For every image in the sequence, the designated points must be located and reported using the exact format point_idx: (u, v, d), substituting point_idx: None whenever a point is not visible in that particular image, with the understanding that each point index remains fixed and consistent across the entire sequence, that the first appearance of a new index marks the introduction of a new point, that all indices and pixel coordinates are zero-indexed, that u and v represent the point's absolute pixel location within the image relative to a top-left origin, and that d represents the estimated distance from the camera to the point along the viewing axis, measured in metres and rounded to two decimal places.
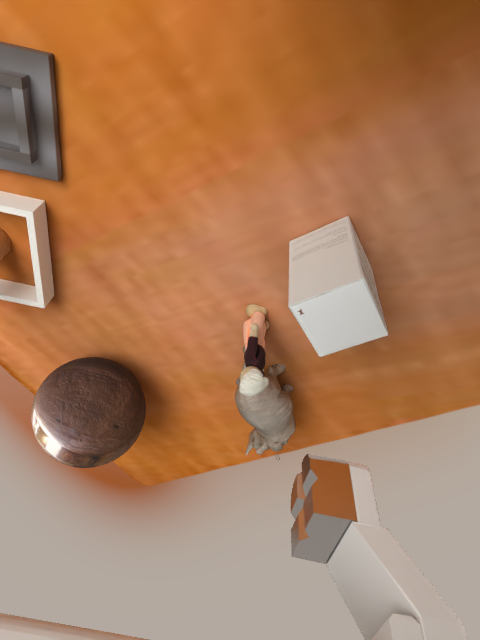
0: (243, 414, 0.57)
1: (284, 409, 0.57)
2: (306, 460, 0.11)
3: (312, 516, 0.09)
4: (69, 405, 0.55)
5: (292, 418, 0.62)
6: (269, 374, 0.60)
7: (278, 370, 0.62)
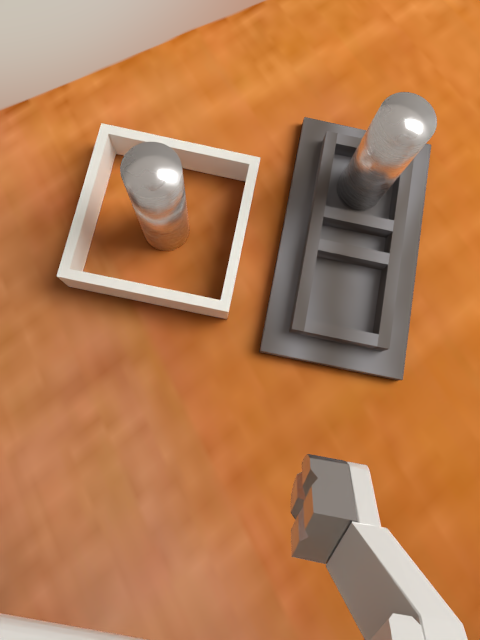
0: None
1: None
2: (306, 460, 0.11)
3: (312, 516, 0.09)
4: None
5: None
6: None
7: None
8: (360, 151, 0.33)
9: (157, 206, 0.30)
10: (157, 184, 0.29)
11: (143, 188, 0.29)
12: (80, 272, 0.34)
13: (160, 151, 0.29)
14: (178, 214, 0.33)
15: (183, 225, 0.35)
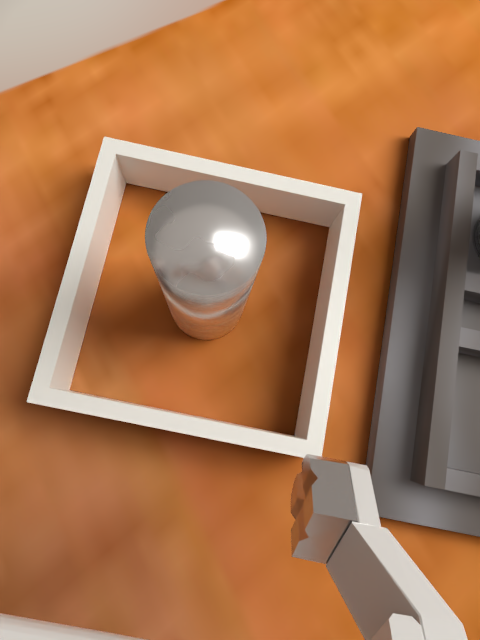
0: None
1: None
2: (306, 460, 0.11)
3: (312, 516, 0.09)
4: None
5: None
6: None
7: None
8: None
9: (214, 303, 0.16)
10: (219, 267, 0.14)
11: (191, 275, 0.14)
12: (68, 394, 0.20)
13: (223, 200, 0.15)
14: (242, 303, 0.18)
15: (242, 310, 0.21)
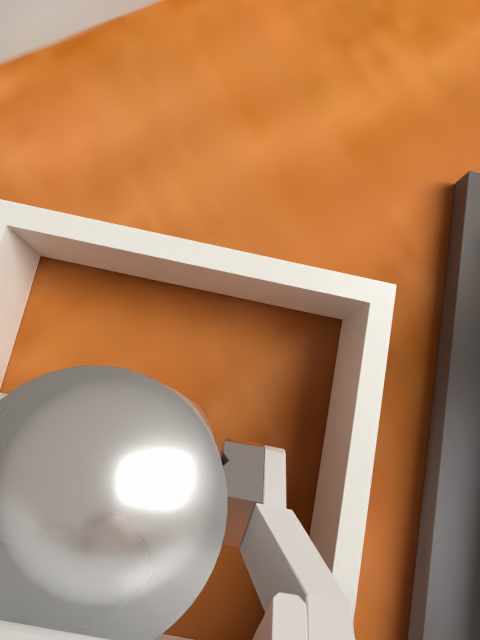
0: None
1: None
2: (223, 444, 0.10)
3: None
4: None
5: None
6: None
7: None
8: None
9: None
10: (113, 588, 0.06)
11: (45, 615, 0.06)
12: None
13: (130, 413, 0.07)
14: None
15: None
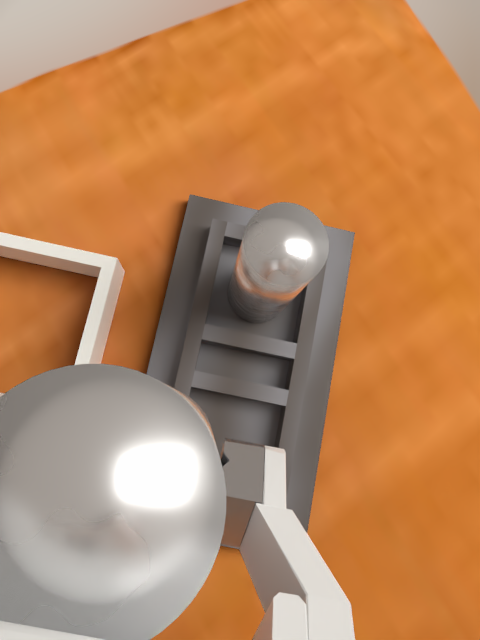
0: None
1: None
2: (223, 444, 0.10)
3: None
4: None
5: None
6: None
7: None
8: (236, 270, 0.24)
9: None
10: (112, 586, 0.06)
11: (44, 613, 0.06)
12: None
13: (129, 411, 0.07)
14: None
15: None
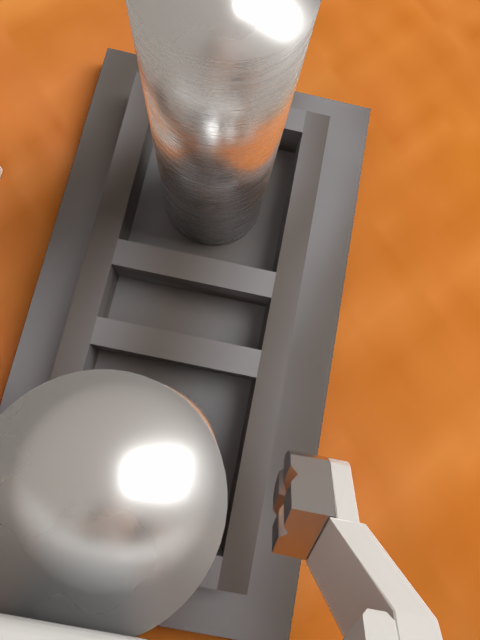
0: None
1: None
2: (287, 456, 0.10)
3: (290, 512, 0.09)
4: None
5: None
6: None
7: None
8: None
9: None
10: (121, 576, 0.07)
11: (58, 601, 0.06)
12: None
13: (136, 414, 0.07)
14: None
15: None
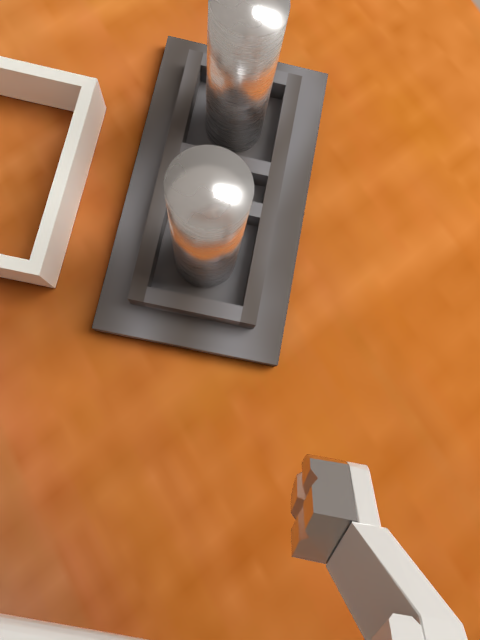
0: None
1: None
2: (306, 460, 0.11)
3: (312, 516, 0.09)
4: None
5: None
6: None
7: None
8: (207, 60, 0.25)
9: (215, 239, 0.20)
10: (219, 209, 0.19)
11: (198, 215, 0.19)
12: None
13: (221, 159, 0.20)
14: (236, 247, 0.23)
15: (235, 257, 0.26)
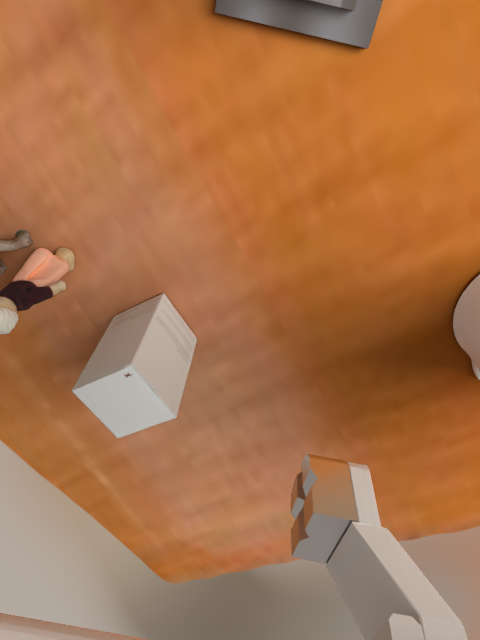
0: None
1: None
2: (306, 460, 0.11)
3: (312, 516, 0.09)
4: None
5: None
6: None
7: None
8: None
9: None
10: None
11: None
12: None
13: None
14: None
15: None
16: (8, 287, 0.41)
